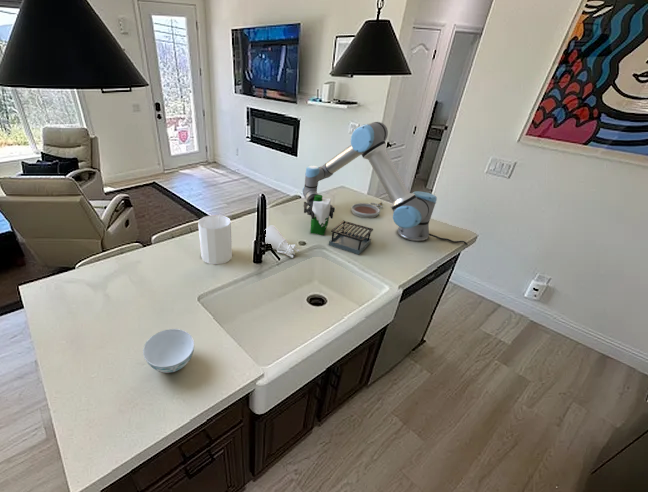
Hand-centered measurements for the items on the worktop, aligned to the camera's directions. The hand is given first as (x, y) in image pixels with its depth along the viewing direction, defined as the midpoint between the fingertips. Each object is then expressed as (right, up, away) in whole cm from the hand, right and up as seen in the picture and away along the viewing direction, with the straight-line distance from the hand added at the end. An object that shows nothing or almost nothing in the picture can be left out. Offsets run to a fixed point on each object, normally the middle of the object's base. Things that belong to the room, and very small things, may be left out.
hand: (322, 216), depth 167 cm
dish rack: (+13, -14, -1) cm, 19 cm away
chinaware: (-60, -56, -65) cm, 105 cm away
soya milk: (0, -7, +10) cm, 12 cm away
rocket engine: (-24, -19, -8) cm, 31 cm away
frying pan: (+36, +9, +34) cm, 51 cm away
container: (-53, -21, -12) cm, 58 cm away
